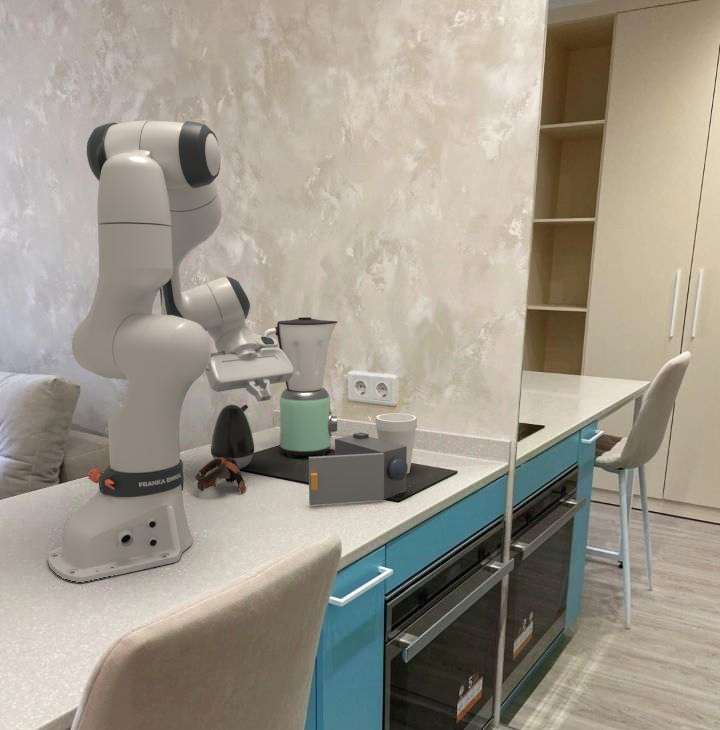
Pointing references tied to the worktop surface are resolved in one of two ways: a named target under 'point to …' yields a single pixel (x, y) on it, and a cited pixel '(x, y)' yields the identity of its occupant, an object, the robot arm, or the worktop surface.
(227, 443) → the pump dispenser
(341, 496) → the side door
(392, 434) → the foam cup
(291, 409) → the green blender
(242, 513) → the worktop surface
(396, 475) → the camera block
